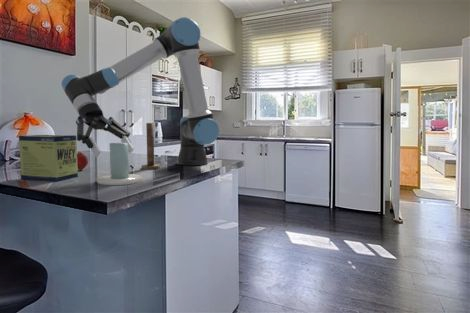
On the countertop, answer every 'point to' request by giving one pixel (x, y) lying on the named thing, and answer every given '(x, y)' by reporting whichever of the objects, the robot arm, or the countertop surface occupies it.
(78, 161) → the red fruit
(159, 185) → the countertop surface
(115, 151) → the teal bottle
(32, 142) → the protein box
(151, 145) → the walnut post
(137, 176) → the cream plate
